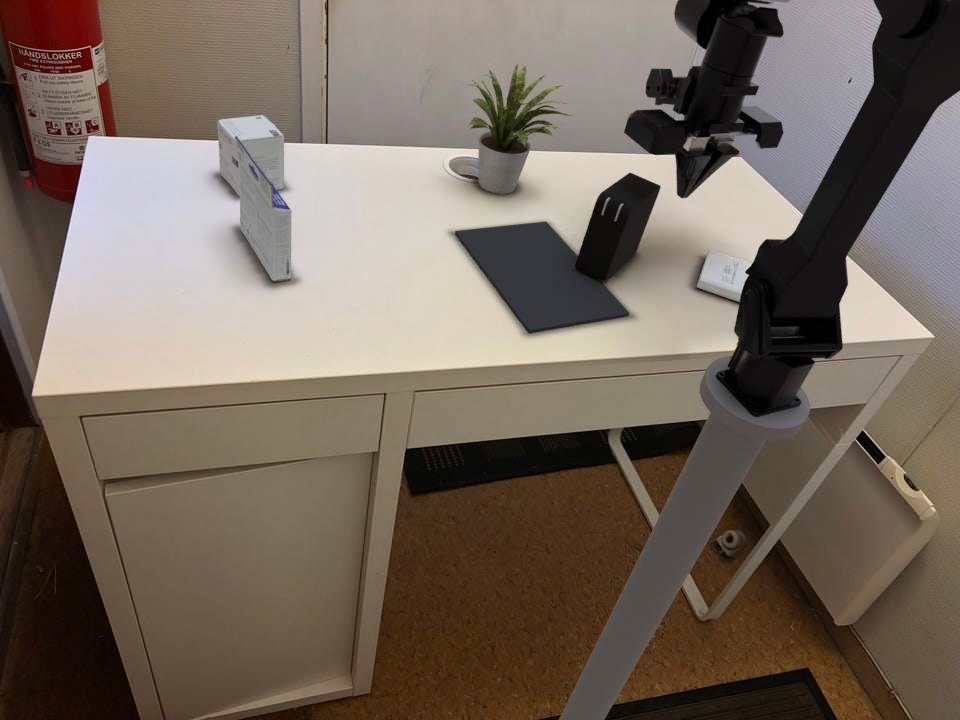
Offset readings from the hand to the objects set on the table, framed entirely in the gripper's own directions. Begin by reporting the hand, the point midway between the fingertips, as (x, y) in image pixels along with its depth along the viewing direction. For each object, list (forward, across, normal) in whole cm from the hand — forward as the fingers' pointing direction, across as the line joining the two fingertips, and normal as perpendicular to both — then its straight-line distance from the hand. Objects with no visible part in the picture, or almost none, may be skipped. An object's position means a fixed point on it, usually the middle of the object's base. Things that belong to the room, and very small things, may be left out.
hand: (681, 196), depth 91 cm
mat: (+9, +18, 0) cm, 20 cm away
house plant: (+9, +14, -20) cm, 26 cm away
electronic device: (+9, +8, 0) cm, 12 cm away
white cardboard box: (+9, +46, -26) cm, 53 cm away
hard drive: (+9, -8, +9) cm, 15 cm away
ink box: (+9, +48, -10) cm, 49 cm away
